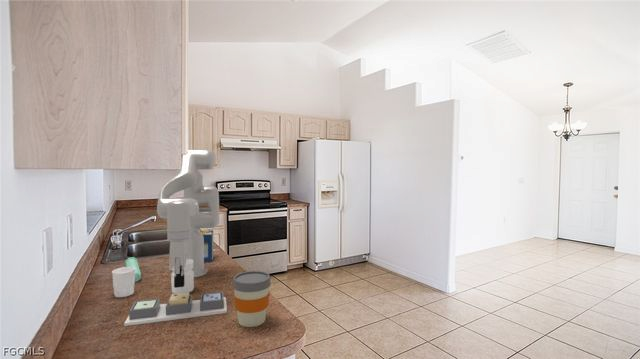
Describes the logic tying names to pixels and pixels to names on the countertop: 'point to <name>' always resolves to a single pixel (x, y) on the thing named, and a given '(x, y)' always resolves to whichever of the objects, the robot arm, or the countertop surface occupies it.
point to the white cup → (123, 281)
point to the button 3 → (212, 297)
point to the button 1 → (145, 304)
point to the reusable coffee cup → (251, 297)
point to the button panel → (176, 310)
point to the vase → (185, 279)
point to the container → (134, 263)
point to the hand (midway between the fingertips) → (179, 286)
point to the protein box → (208, 245)
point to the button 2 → (179, 299)
